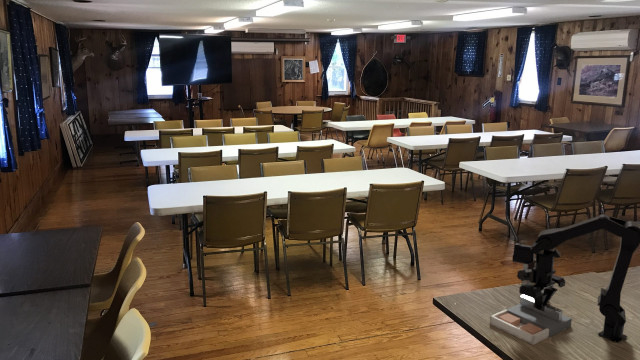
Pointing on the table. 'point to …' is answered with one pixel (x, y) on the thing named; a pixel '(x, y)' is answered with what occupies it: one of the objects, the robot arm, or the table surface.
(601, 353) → the table surface
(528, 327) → the tile
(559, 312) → the sleeved grey plank
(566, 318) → the board
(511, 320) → the tile
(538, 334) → the tray
